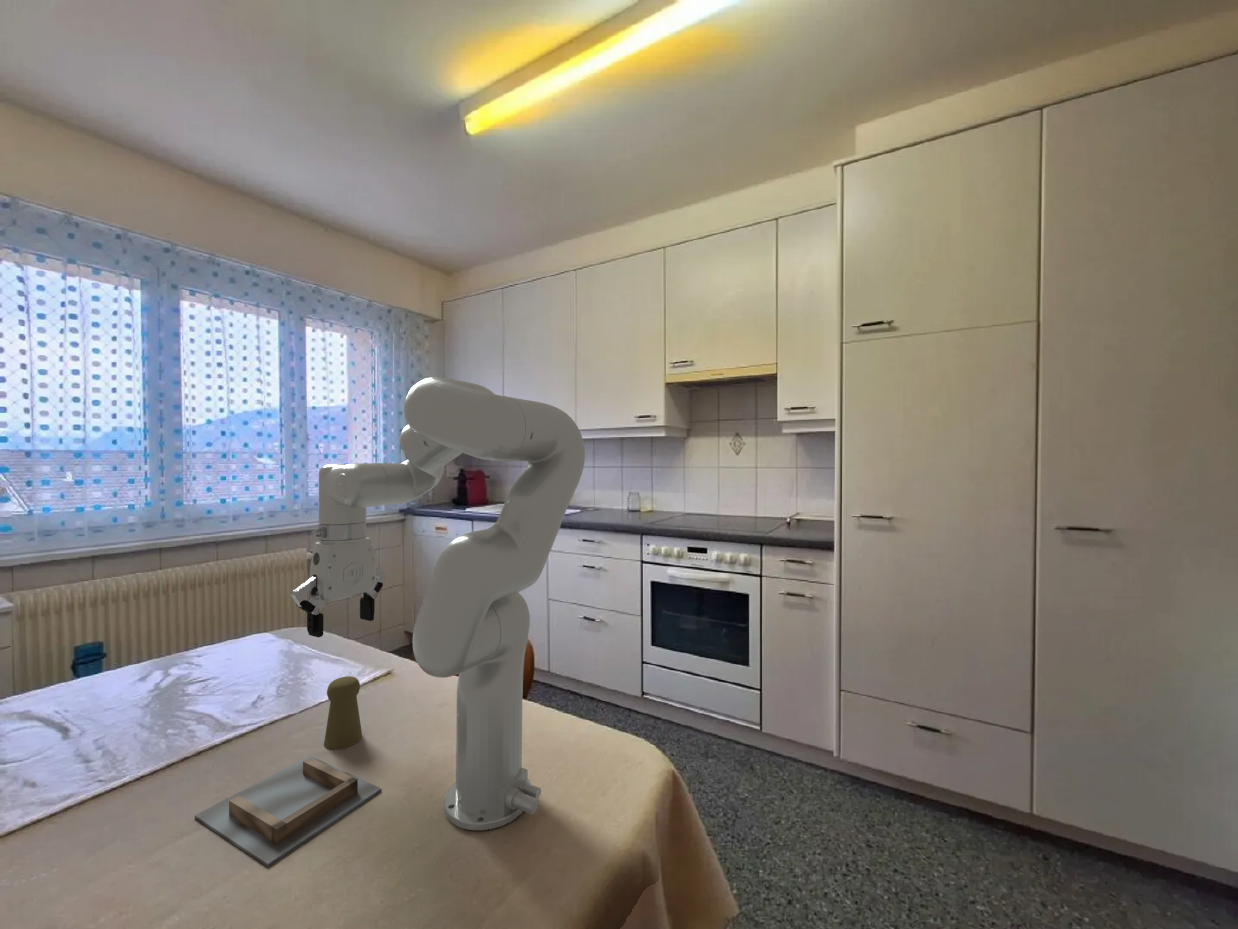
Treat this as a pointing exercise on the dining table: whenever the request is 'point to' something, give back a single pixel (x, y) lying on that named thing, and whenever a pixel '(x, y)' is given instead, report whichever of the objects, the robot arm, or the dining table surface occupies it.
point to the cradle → (287, 808)
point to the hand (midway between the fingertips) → (342, 627)
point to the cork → (343, 714)
